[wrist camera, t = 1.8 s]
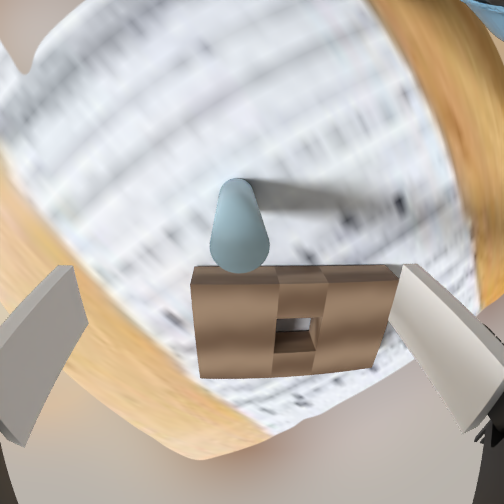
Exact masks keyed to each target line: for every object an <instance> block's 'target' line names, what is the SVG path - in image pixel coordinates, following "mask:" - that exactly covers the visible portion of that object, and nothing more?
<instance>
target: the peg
mask: <svg viewBox="0 0 504 504" xmlns="http://www.w3.org/2000/svg"><path fill="white" fill-rule="evenodd" d="M269 247H270V243H269V238H268V235H267V232H266V229H265V226H264V223H263V220H262V216H261V213H260V210H259V207H258V204H257V201H256V198H255V195H254V192H253V189H252V187H251V185H250V184H249V183H248V182H247V181H245V180H243V179H239V178H234V179H230V180H228V181H227V182H225V183H224V184H223V186H222V187H221V190H220V194H219V199H218V204H217V209H216V214H215V219H214V224H213V229H212V235H211V240H210V252H211V255H212V258H213V259H214V261H215V262H216V263H217V264H218V265H219V266H220V267H221V268H222V269H224V270H226V271H228V272H232V273H247V272H250V271H253V270H255V269H256V268H258V267H259V266H260V265H261V264H262V263H263V262H264V261H265V259H266V258H267V256H268V253H269Z"/></svg>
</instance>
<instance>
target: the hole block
mask: <svg viewBox="0 0 504 504" xmlns="http://www.w3.org/2000/svg"><path fill="white" fill-rule="evenodd" d="M398 283H399V279H398V278H397V277H396V275H395V274H394V273H393V272H392V271H391V270H390V269H389V268H388V267H387V266H386V265H355V266H259V267H258V268H256V269H255V270H253V271H250V272H247V273H232V272H228V271H226V270H224V269H222V268H221V267H194V271H193V275H192V279H191V284H190V287H191V299H192V310H193V320H194V330H195V339H196V348H197V356H198V364H199V372H200V378H206V379H246V378H274V377H291V376H304V375H315V374H325V373H335V372H343V371H351V370H358V369H365V368H371V367H372V365H373V363H374V360H375V358H376V355H377V352H378V349H379V347H380V344H381V341H382V338H383V335H384V332H385V329H386V326H387V323H388V318H389V314H390V311H391V308H392V304H393V301H394V297H395V294H396V290H397V286H398ZM288 318H311V321H310V327H309V331H299V332H276V322H277V319H288Z"/></svg>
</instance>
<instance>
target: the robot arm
mask: <svg viewBox="0 0 504 504" xmlns="http://www.w3.org/2000/svg"><path fill="white" fill-rule="evenodd" d="M460 1H462V2H464V3H466V5H467V6H468V7H469V8H470V9H471V10H472V11H473V12H474V13H475V14H476V16H477V17H478V18H479V19H480V20H481V21H482V23H483V24H484V25H485V26H486V27H487V28H488V29H489V30H490V32H492V33H493V34H494V35H495V36H496V37H497V38H499V39H500V40H502V41H504V0H460ZM388 321H389V322H390V324H391V325H392V326H393V328H394V329H395V331H396V332H397V333H398V335H399V336H400V338H401V339H402V341H403V342H404V343H405V345H406V346H407V348H408V349H409V351H410V352H411V353H412V355H413V356H414V358H415V359H416V361H417V362H418V364H419V365H420V367H421V368H422V370H423V371H424V373H425V374H426V376H427V377H428V379H429V380H430V382H431V383H432V385H433V387H434V388H435V390H436V391H437V393H438V394H439V396H440V398H441V399H442V401H443V402H444V404H445V405H446V407H447V409H448V410H449V412H450V413H451V415H452V417H453V419H454V420H455V422H456V424H457V425H458V427H459V429H460V431H461V432H462V434H463V433H466V432H468V431H470V430H472V429H474V428H476V427H477V426H478V425H479V424H480V423H481V422H482V420H483V419H484V418H485V417H486V415H488V416H489V418H490V421H489V422H488V423H487V424H486V426H485V427H484V428H483V429H482V430H481V431H480V432H479V434H478V435H477V436H476V438H475V440H474V442H477V441H478V440H479V439H480V438H481V437H482V435H483V434H485V437H484V438H483V439H482V440H481V441H480V443H482V444H484V447H483V454H482V461H481V467H480V472H479V477H478V482H477V487H476V491H475V495H474V499H473V503H472V504H504V344H503V343H501V340H500V339H499V338H498V337H497V336H496V337H495V334H494V333H493V332H492V331H491V330H490V329H489V328H488V327H487V326H486V325H484V324H483V323H481V322H480V321H479V320H478V319H477V318H476V317H475V316H474V315H473V314H472V313H471V312H470V311H469V310H468V309H467V308H466V307H465V306H464V305H463V304H462V303H461V302H460V301H458V300H457V299H456V298H455V297H454V296H453V295H452V294H451V293H450V292H449V291H448V290H447V289H445V288H444V287H443V286H442V285H441V284H440V283H439V282H438V281H437V280H435V279H434V278H433V277H432V276H431V275H430V274H429V273H427V272H426V271H425V270H424V269H423V268H422V267H420V266H419V265H418V264H403V267H402V271H401V275H400V279H399V283H398V286H397V290H396V294H395V297H394V301H393V304H392V308H391V311H390V314H389V318H388ZM87 325H88V320H87V317H86V313H85V310H84V307H83V303H82V300H81V296H80V292H79V288H78V284H77V280H76V276H75V272H74V268H73V266H68V265H58V266H57V267H56V268H55V269H54V270H53V271H52V272H51V273H50V274H49V275H48V276H47V277H46V278H45V279H44V280H43V281H42V282H41V283H40V284H39V285H38V286H37V287H36V288H35V289H34V290H33V291H32V292H31V293H30V294H29V295H28V296H27V297H26V298H25V299H24V300H23V301H22V302H21V303H20V304H19V305H18V307H17V308H16V309H15V310H14V311H13V312H12V313H11V314H10V315H9V317H8V318H7V319H6V320H5V321H4V322H3V323H2V325H1V326H0V432H1V433H2V434H3V435H4V436H5V437H6V439H7V440H9V441H11V442H13V443H15V444H17V445H20V446H22V447H25V445H26V443H27V441H28V438H29V436H30V434H31V431H32V429H33V427H34V425H35V423H36V420H37V418H38V416H39V414H40V412H41V410H42V408H43V406H44V403H45V401H46V399H47V397H48V395H49V393H50V391H51V389H52V387H53V386H54V383H55V381H56V380H57V378H58V376H59V374H60V372H61V370H62V369H63V367H64V365H65V363H66V361H67V359H68V358H69V356H70V354H71V352H72V351H73V349H74V347H75V345H76V344H77V342H78V340H79V338H80V337H81V335H82V333H83V332H84V330H85V328H86V327H87ZM0 504H18V502H17V499H16V496H15V493H14V491H13V487H12V484H11V481H10V478H9V475H8V471H7V468H6V464H5V460H4V456H3V452H2V449H1V443H0Z"/></svg>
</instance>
